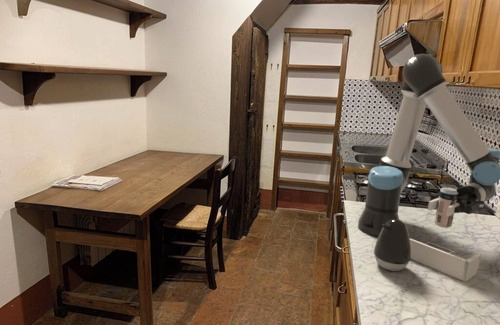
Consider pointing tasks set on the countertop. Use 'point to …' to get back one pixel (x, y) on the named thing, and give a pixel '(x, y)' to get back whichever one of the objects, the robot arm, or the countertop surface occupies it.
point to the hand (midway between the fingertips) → (438, 208)
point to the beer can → (445, 206)
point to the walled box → (444, 260)
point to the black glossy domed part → (393, 246)
